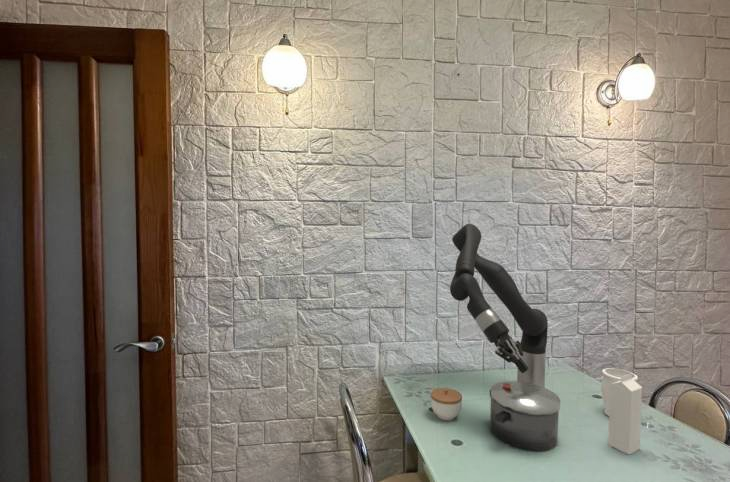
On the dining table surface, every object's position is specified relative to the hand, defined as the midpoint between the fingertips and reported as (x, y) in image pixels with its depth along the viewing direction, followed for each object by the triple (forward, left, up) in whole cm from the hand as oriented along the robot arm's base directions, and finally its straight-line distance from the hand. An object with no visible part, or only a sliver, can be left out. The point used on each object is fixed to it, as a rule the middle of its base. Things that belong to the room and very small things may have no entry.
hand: (525, 371), depth 122 cm
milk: (+18, +22, -20) cm, 35 cm away
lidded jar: (-19, -16, -20) cm, 32 cm away
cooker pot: (0, 0, -20) cm, 20 cm away
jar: (+5, +40, -20) cm, 45 cm away
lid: (0, 0, -9) cm, 9 cm away
